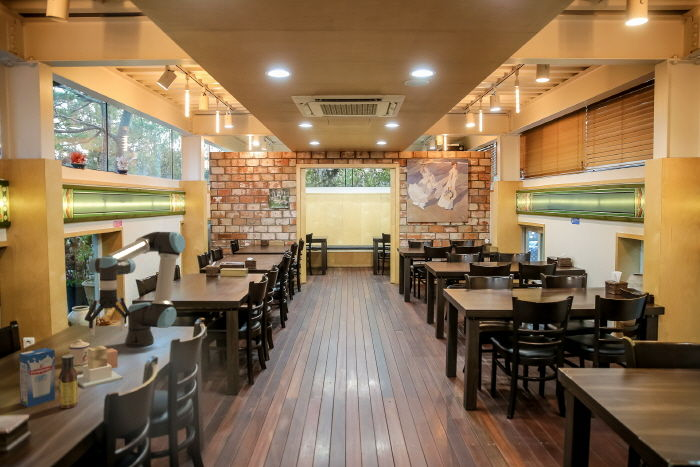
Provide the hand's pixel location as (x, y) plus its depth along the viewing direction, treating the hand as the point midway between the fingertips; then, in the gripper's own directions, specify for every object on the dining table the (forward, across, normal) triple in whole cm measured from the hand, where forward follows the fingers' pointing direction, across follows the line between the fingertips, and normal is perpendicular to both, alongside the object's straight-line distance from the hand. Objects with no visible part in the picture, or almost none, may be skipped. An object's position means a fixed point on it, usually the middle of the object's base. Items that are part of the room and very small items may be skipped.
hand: (108, 332), depth 233 cm
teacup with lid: (+17, +7, -17) cm, 25 cm away
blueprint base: (+17, +10, +14) cm, 24 cm away
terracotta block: (+17, 0, 0) cm, 17 cm away
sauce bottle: (+18, +29, +38) cm, 51 cm away
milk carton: (+18, +36, +25) cm, 47 cm away
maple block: (+11, +10, +14) cm, 20 cm away
